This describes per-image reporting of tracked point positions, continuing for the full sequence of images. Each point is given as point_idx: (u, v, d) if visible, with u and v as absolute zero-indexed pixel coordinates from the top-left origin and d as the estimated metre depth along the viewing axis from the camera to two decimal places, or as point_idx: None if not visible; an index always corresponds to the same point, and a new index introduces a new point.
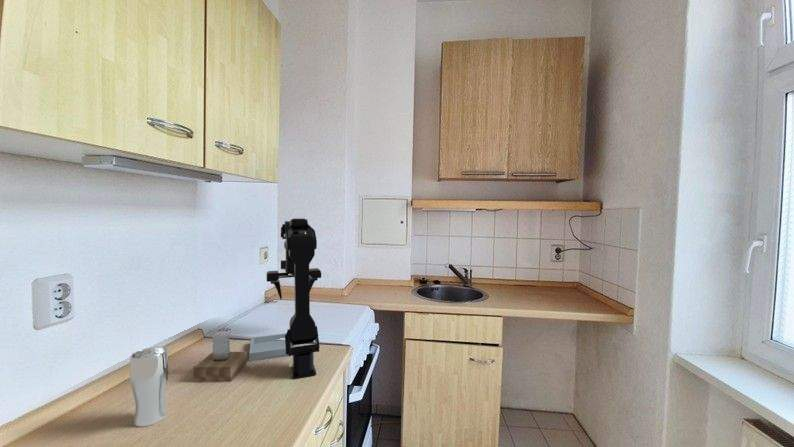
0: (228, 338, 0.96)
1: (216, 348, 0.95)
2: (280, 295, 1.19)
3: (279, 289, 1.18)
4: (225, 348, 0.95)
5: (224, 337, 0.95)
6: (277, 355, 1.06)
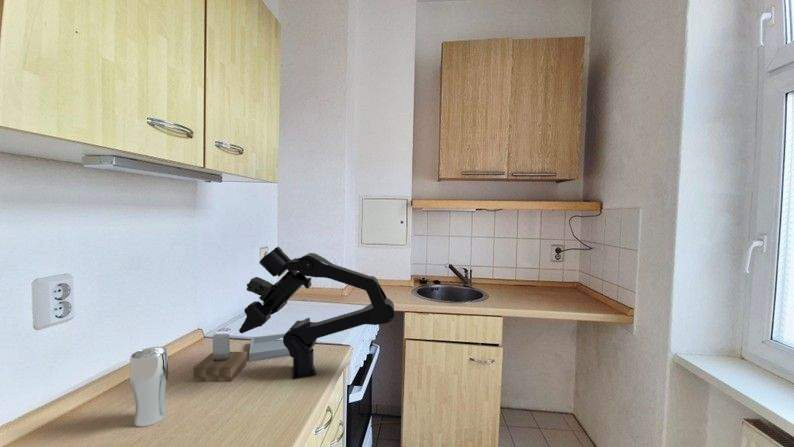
0: (228, 338, 0.96)
1: (216, 348, 0.95)
2: None
3: None
4: (225, 348, 0.95)
5: (224, 337, 0.95)
6: (277, 355, 1.06)
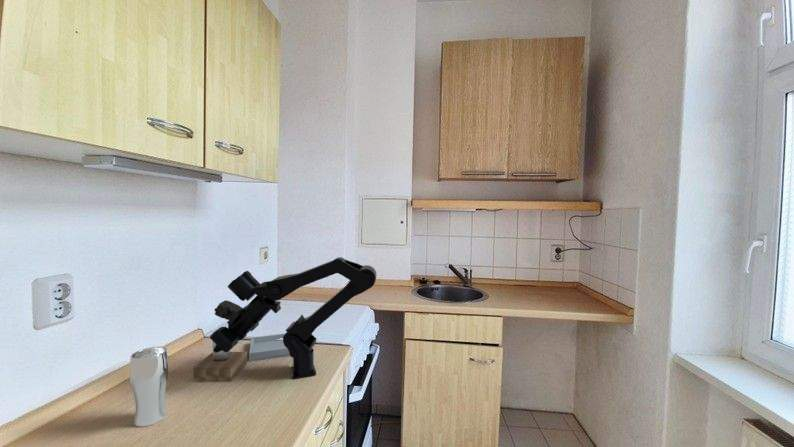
0: None
1: None
2: (221, 350, 0.94)
3: None
4: None
5: None
6: (277, 355, 1.06)
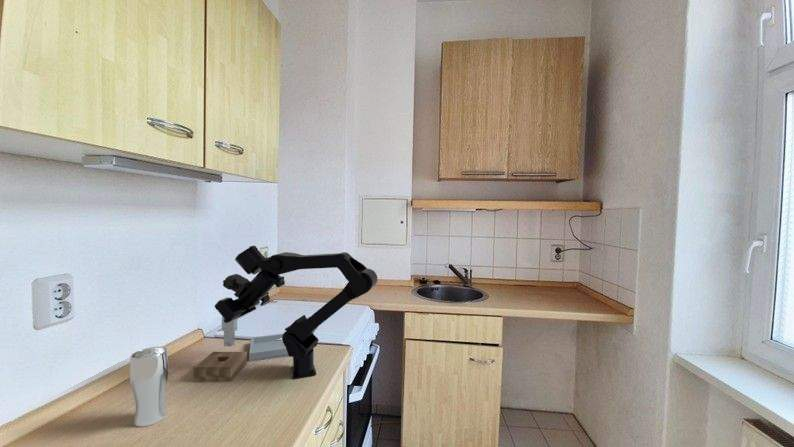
0: None
1: None
2: None
3: None
4: (232, 322, 0.99)
5: None
6: (277, 355, 1.06)
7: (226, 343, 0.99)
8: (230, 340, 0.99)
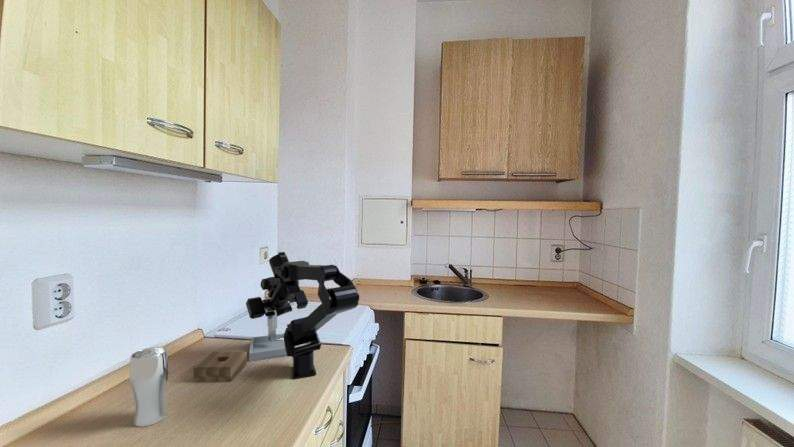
0: (275, 312, 1.10)
1: None
2: None
3: (271, 316, 1.08)
4: (271, 320, 1.10)
5: None
6: (277, 355, 1.06)
7: (269, 338, 1.12)
8: (271, 336, 1.11)
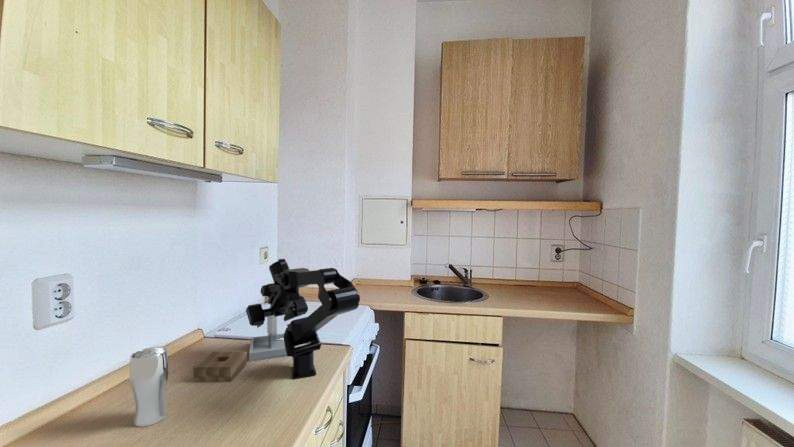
0: (274, 319, 1.11)
1: (268, 324, 1.13)
2: (259, 326, 1.08)
3: (260, 325, 1.06)
4: (271, 327, 1.11)
5: (271, 317, 1.11)
6: (277, 355, 1.06)
7: (269, 344, 1.12)
8: (271, 343, 1.11)
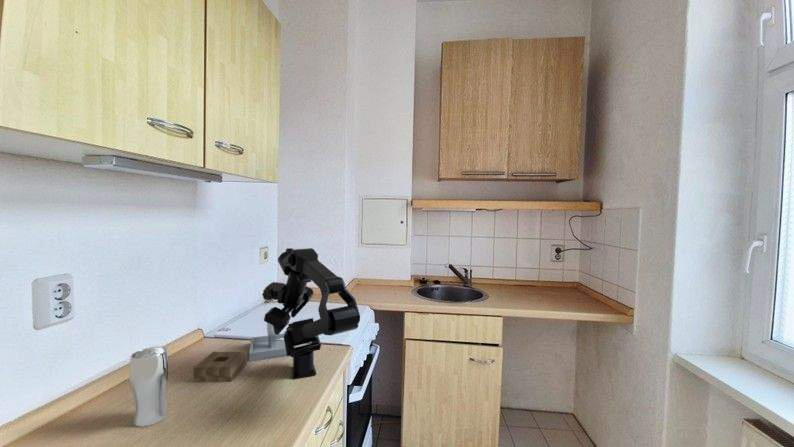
0: None
1: (268, 324, 1.13)
2: None
3: None
4: (271, 326, 1.11)
5: None
6: (277, 355, 1.06)
7: (269, 344, 1.12)
8: (270, 343, 1.11)
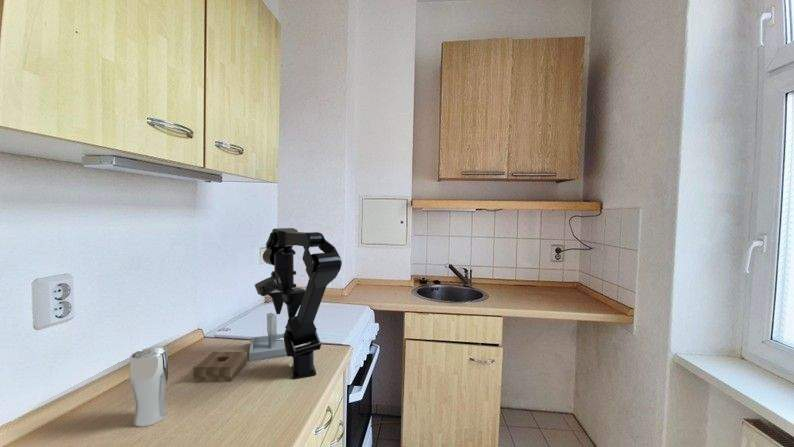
0: (274, 319, 1.11)
1: (268, 324, 1.13)
2: None
3: None
4: (271, 326, 1.11)
5: (270, 317, 1.11)
6: (277, 355, 1.06)
7: (269, 344, 1.12)
8: (270, 343, 1.11)
